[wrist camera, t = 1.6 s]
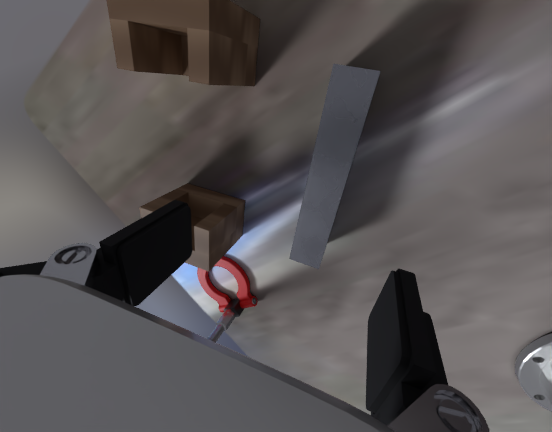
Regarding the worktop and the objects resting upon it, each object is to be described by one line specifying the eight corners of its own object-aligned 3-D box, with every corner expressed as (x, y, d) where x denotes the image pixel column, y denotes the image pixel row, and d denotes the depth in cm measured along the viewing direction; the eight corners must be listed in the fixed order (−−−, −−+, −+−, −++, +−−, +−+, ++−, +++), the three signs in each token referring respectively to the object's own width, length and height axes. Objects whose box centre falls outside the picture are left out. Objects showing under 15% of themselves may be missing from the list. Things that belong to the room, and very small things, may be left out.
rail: (342, 69, 20) (333, 63, 16) (379, 75, 20) (380, 71, 16) (302, 234, 29) (289, 258, 24) (327, 242, 28) (318, 269, 24)
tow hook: (192, 260, 38) (223, 308, 40) (115, 324, 27) (162, 387, 29) (232, 246, 34) (264, 300, 36) (160, 314, 23) (212, 388, 25)
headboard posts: (179, 10, 22) (103, -20, 16) (260, 19, 21) (209, -12, 14) (189, 217, 33) (145, 247, 27) (242, 235, 31) (208, 271, 25)
